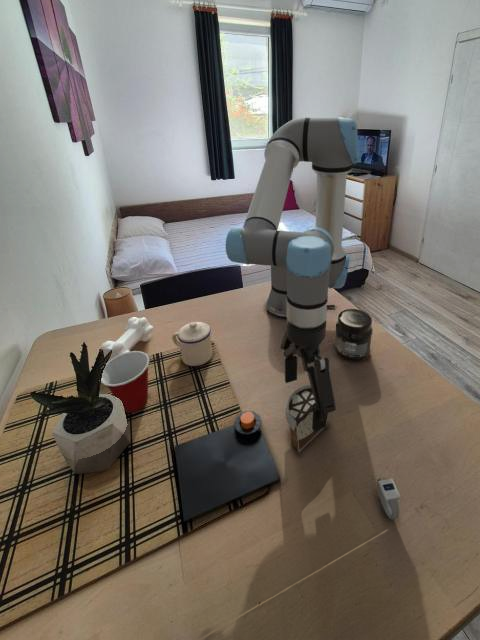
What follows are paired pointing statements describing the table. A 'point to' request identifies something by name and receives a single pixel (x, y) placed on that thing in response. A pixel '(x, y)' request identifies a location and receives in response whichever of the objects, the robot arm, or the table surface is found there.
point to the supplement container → (353, 335)
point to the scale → (223, 468)
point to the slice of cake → (301, 417)
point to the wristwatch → (389, 496)
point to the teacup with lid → (194, 343)
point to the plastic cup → (128, 379)
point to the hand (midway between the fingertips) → (303, 402)
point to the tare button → (247, 420)
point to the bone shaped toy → (129, 337)
